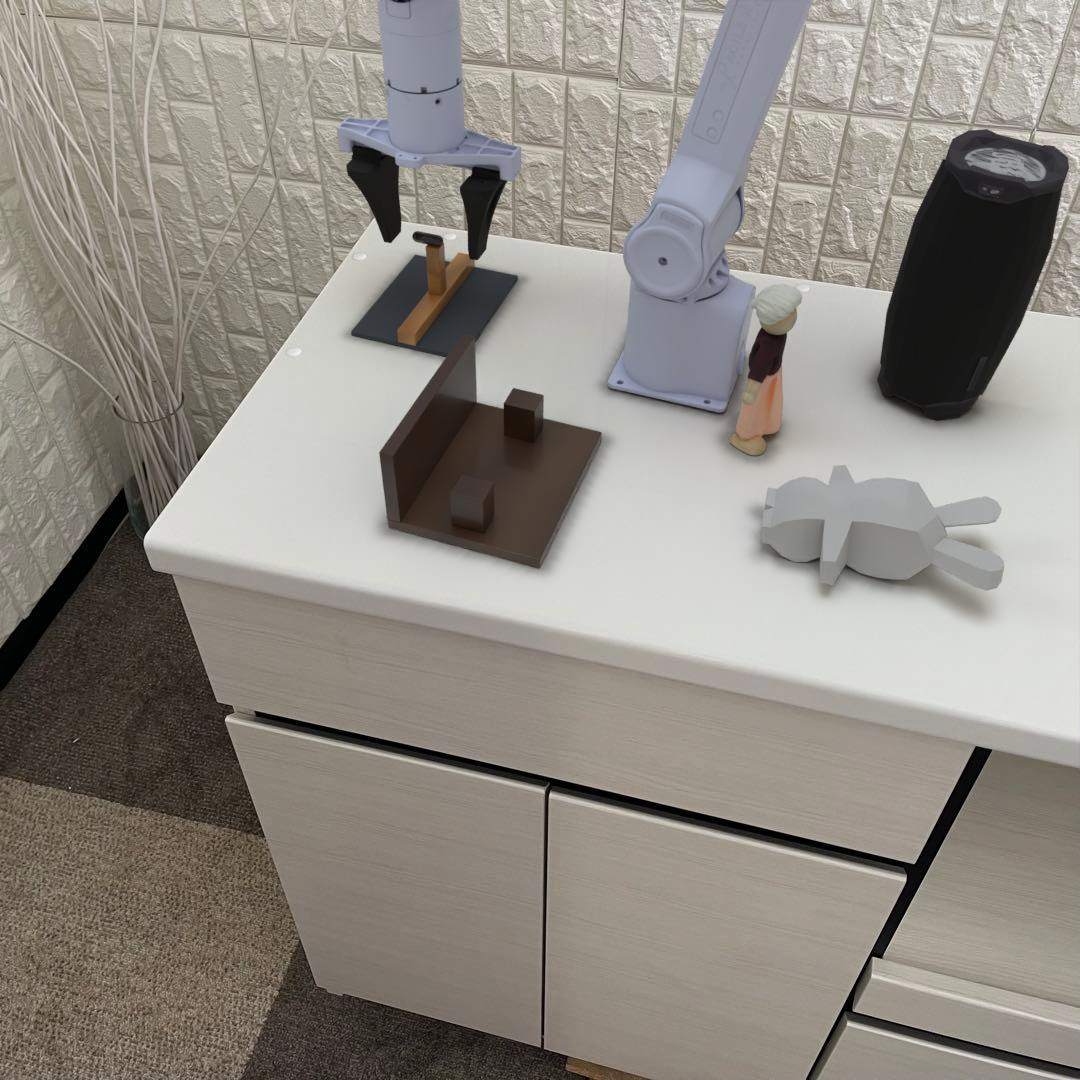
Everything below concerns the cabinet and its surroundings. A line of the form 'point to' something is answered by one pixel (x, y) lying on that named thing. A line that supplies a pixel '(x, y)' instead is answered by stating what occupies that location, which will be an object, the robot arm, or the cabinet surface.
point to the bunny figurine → (876, 529)
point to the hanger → (434, 287)
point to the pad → (457, 318)
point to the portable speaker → (969, 270)
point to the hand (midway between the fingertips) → (434, 245)
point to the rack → (482, 466)
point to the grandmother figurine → (766, 368)
